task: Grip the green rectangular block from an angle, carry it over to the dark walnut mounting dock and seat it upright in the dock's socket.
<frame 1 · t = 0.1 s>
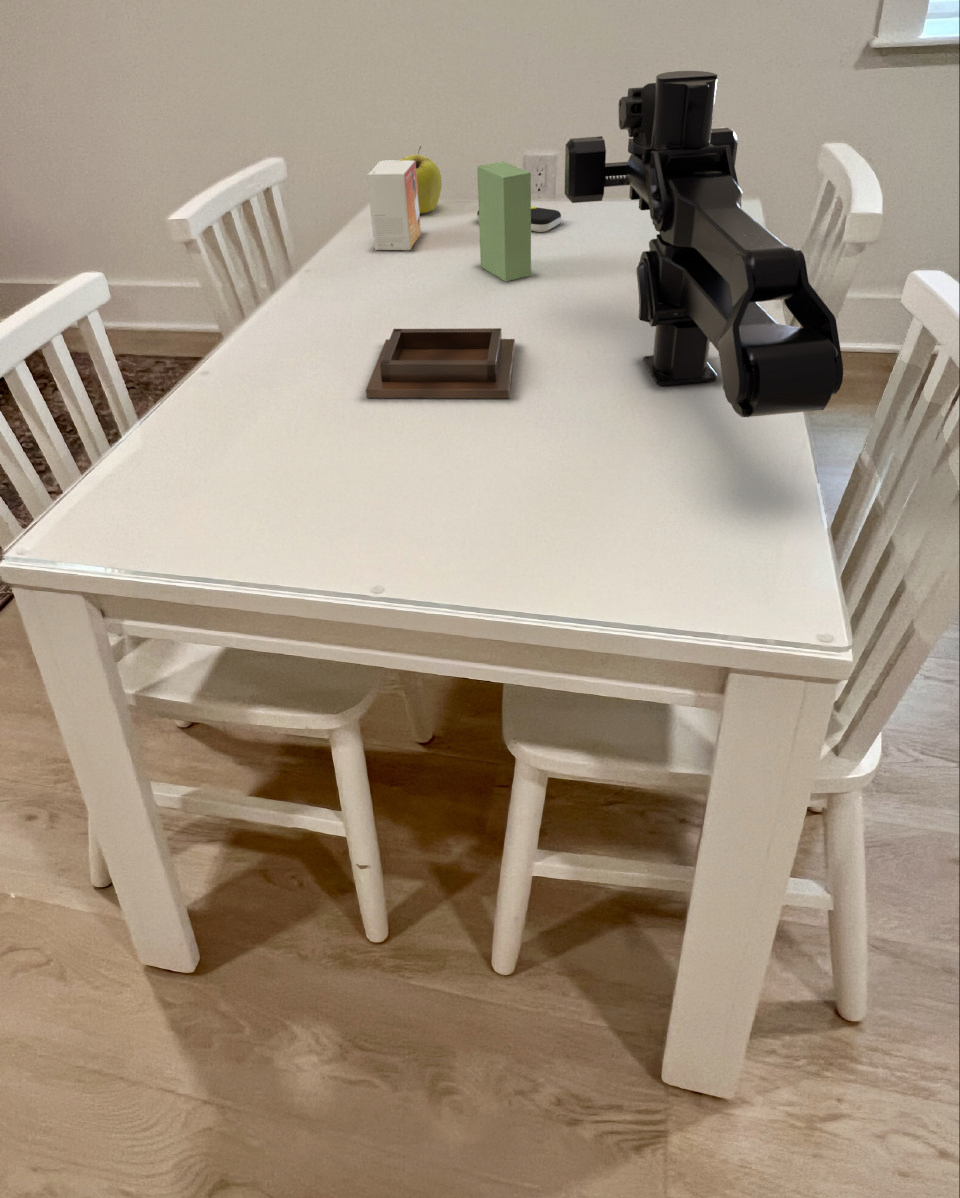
hand: (631, 148, 105), 17 cm above the table, tool horizontal, fingers open, 9 cm apart
mount dock: (444, 371, 98), on the table
remote control: (518, 224, 138), on the table
small box: (398, 243, 133), on the table
bottle: (697, 250, 126), on the table
green rectangular block: (505, 271, 122), on the table
apple: (419, 212, 145), on the table
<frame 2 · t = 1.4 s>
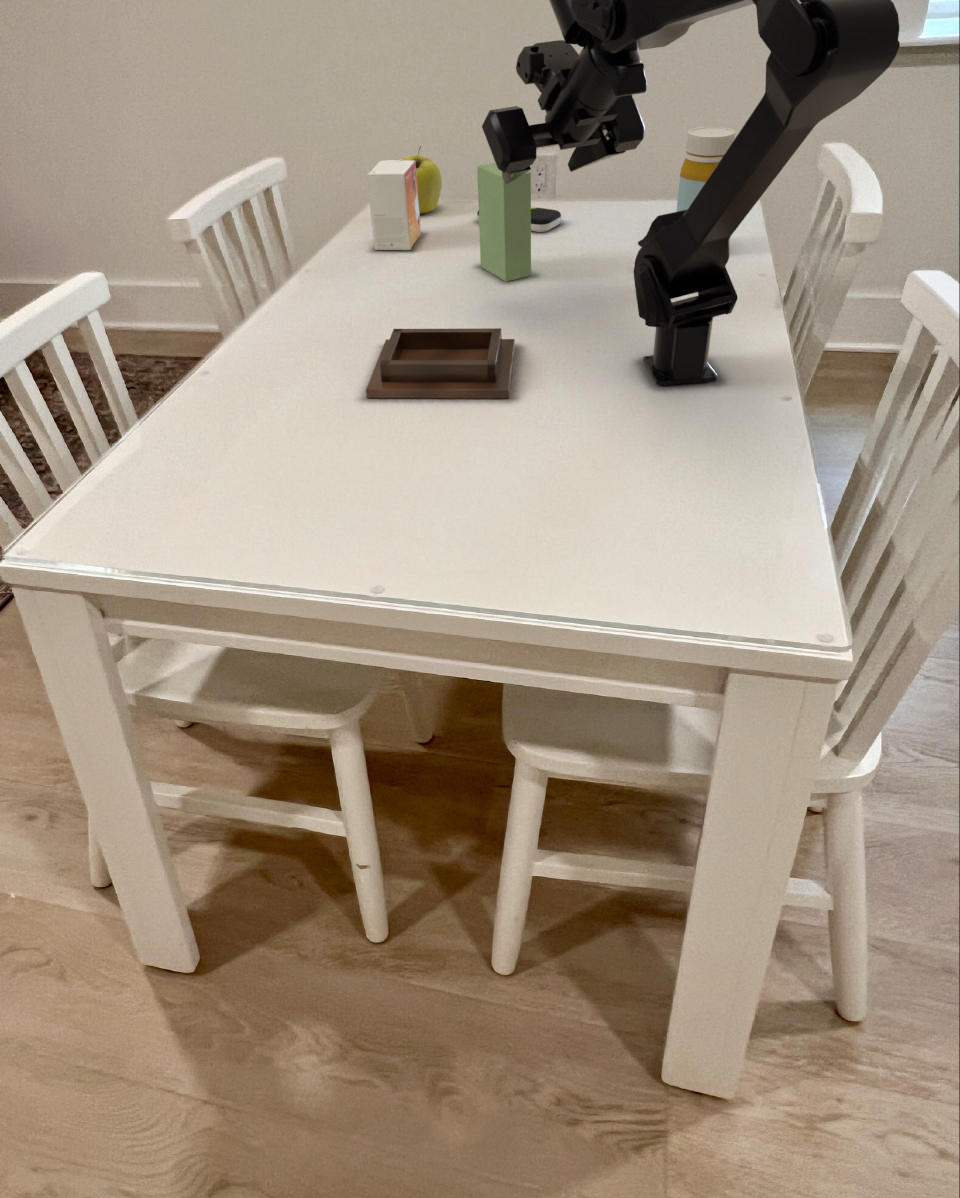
hand: (538, 173, 107), 14 cm above the table, tool tilted 45°, fingers open, 9 cm apart
nothing on the table moved.
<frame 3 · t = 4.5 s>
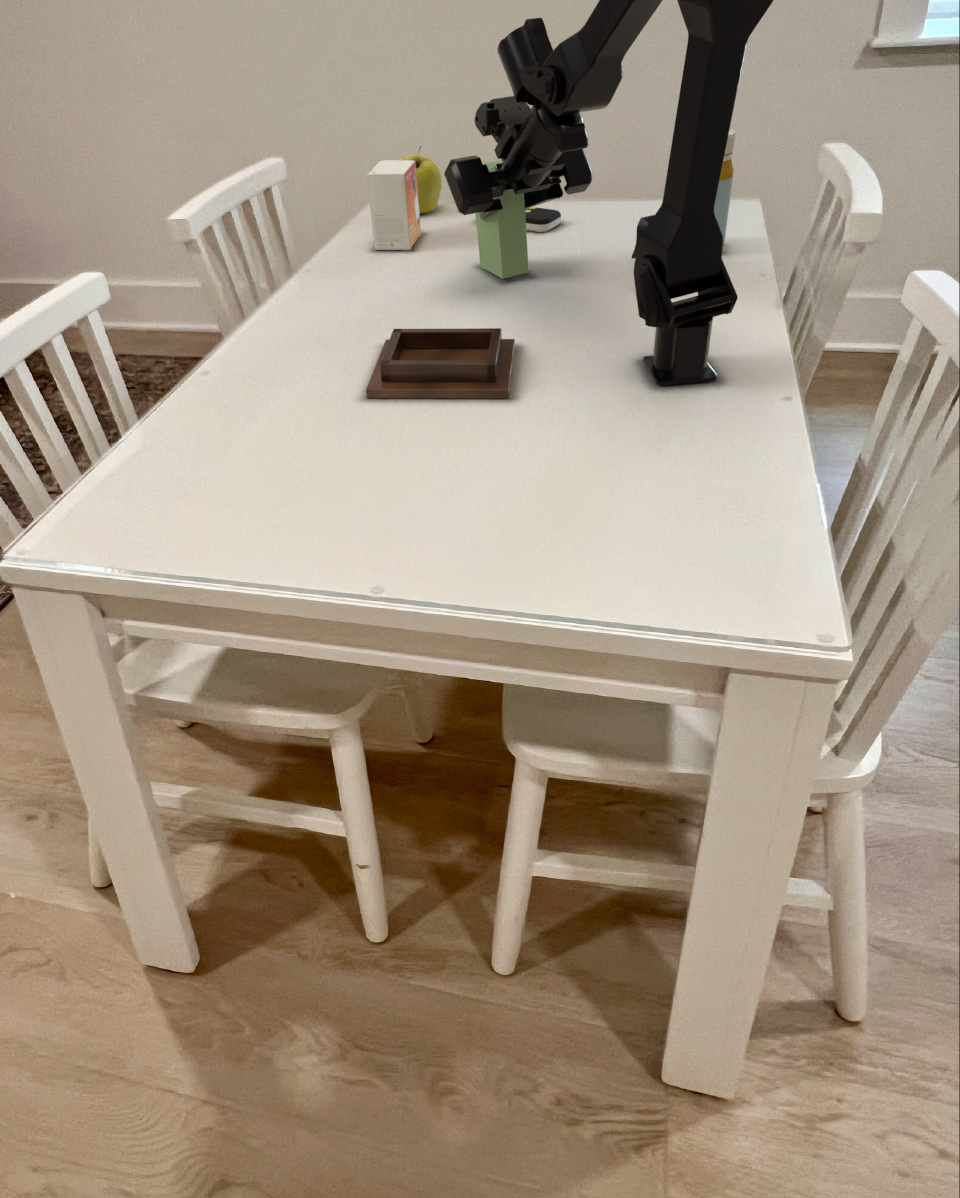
hand: (497, 212, 118), 7 cm above the table, tool tilted 45°, fingers closed on green rectangular block, 5 cm apart
green rectangular block: (504, 269, 122), on the table, touching gripper
everything else where it was.
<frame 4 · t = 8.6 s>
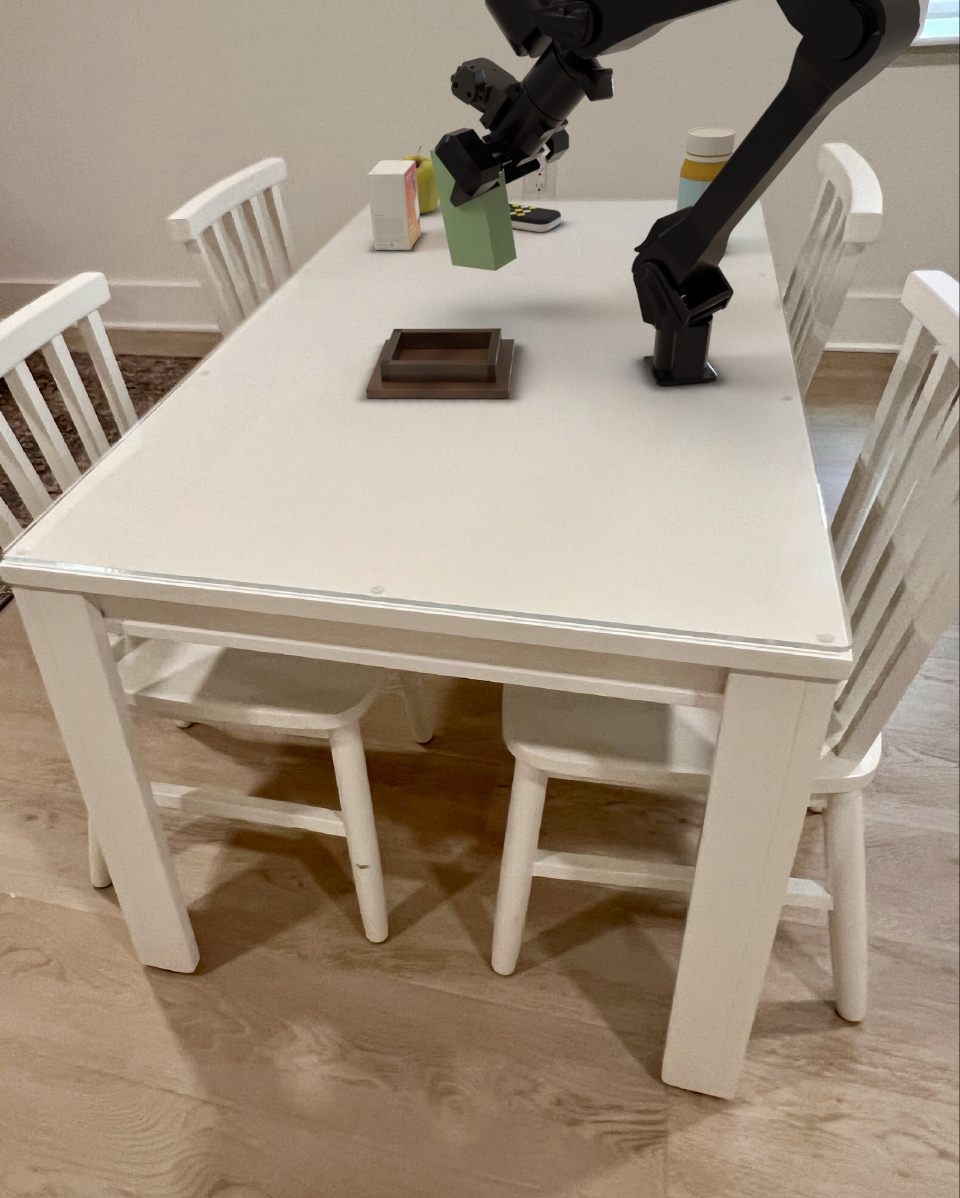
hand: (464, 198, 103), 13 cm above the table, tool tilted 45°, fingers closed on green rectangular block, 4 cm apart
green rectangular block: (484, 261, 106), point 6 cm above the table, tilted 8°, touching gripper
everything else where it was.
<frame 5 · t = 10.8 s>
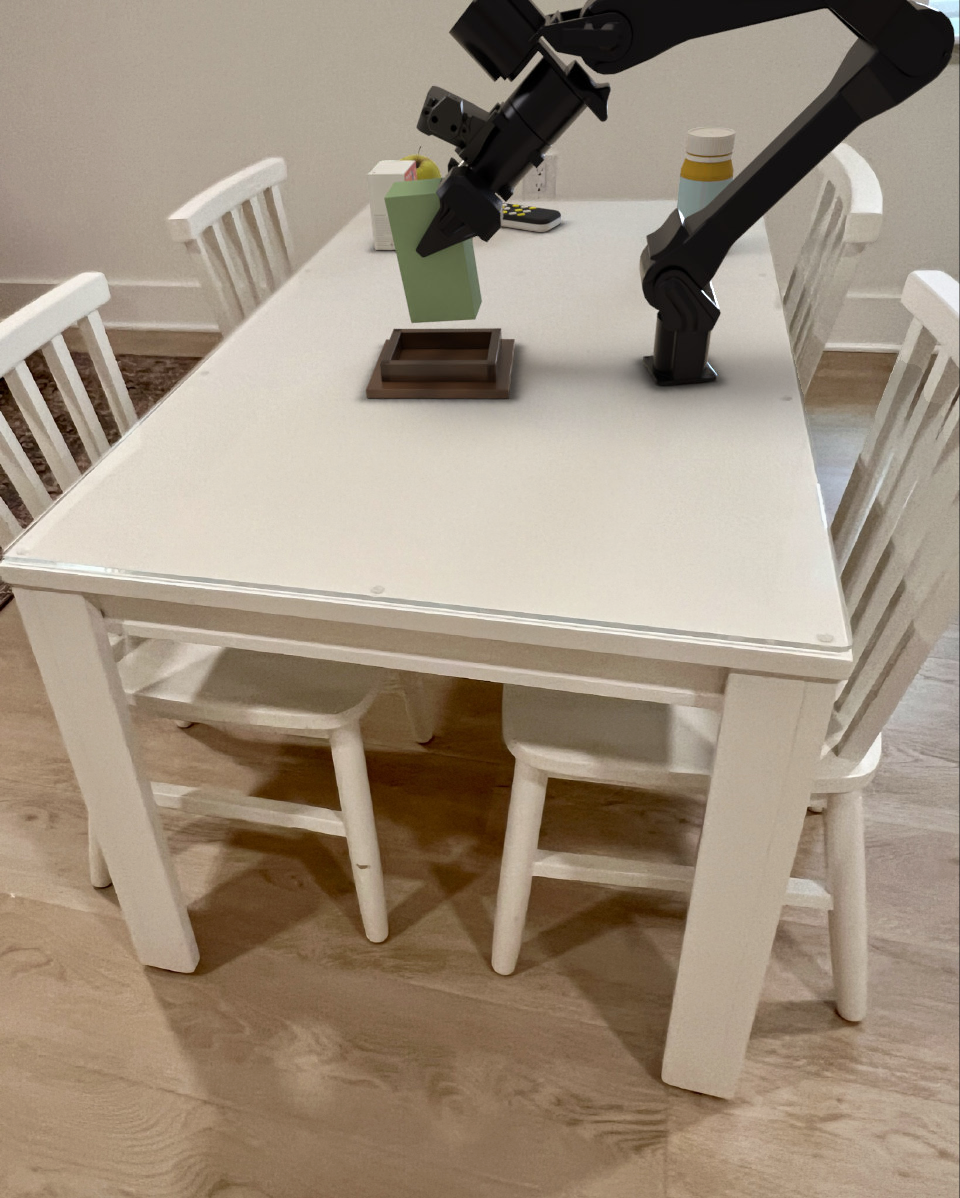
hand: (422, 246, 90), 13 cm above the table, tool tilted 45°, fingers closed on green rectangular block, 4 cm apart
green rectangular block: (446, 312, 94), point 6 cm above the table, tilted 8°, touching gripper
everything else where it was.
when the fingers open (9 cm above the table, at t = 12.8 s): green rectangular block stays where it is, resting on mount dock.
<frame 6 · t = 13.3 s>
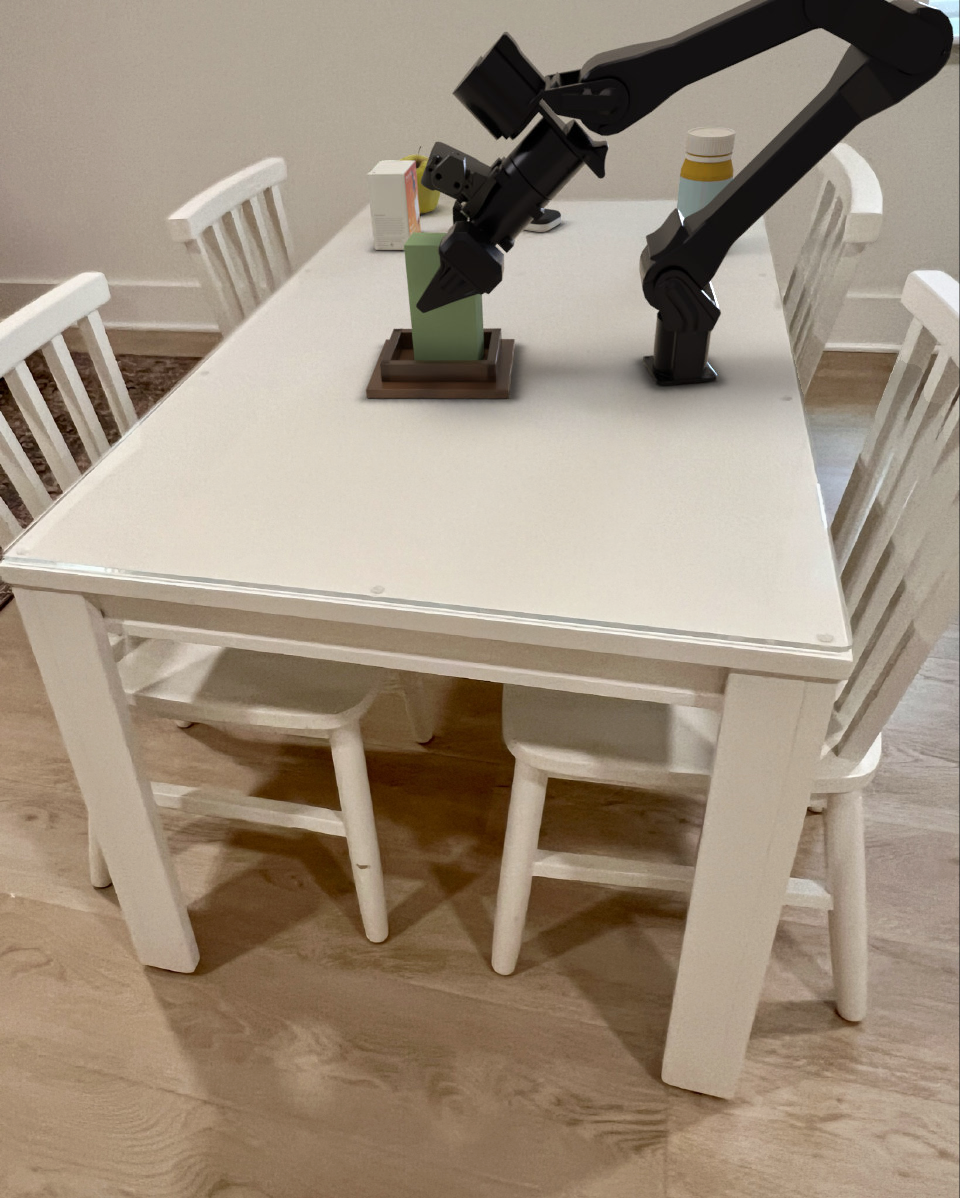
hand: (425, 292, 92), 9 cm above the table, tool tilted 45°, fingers open, 9 cm apart
green rectangular block: (450, 360, 98), point 1 cm above the table, touching mount dock
everything else where it was.
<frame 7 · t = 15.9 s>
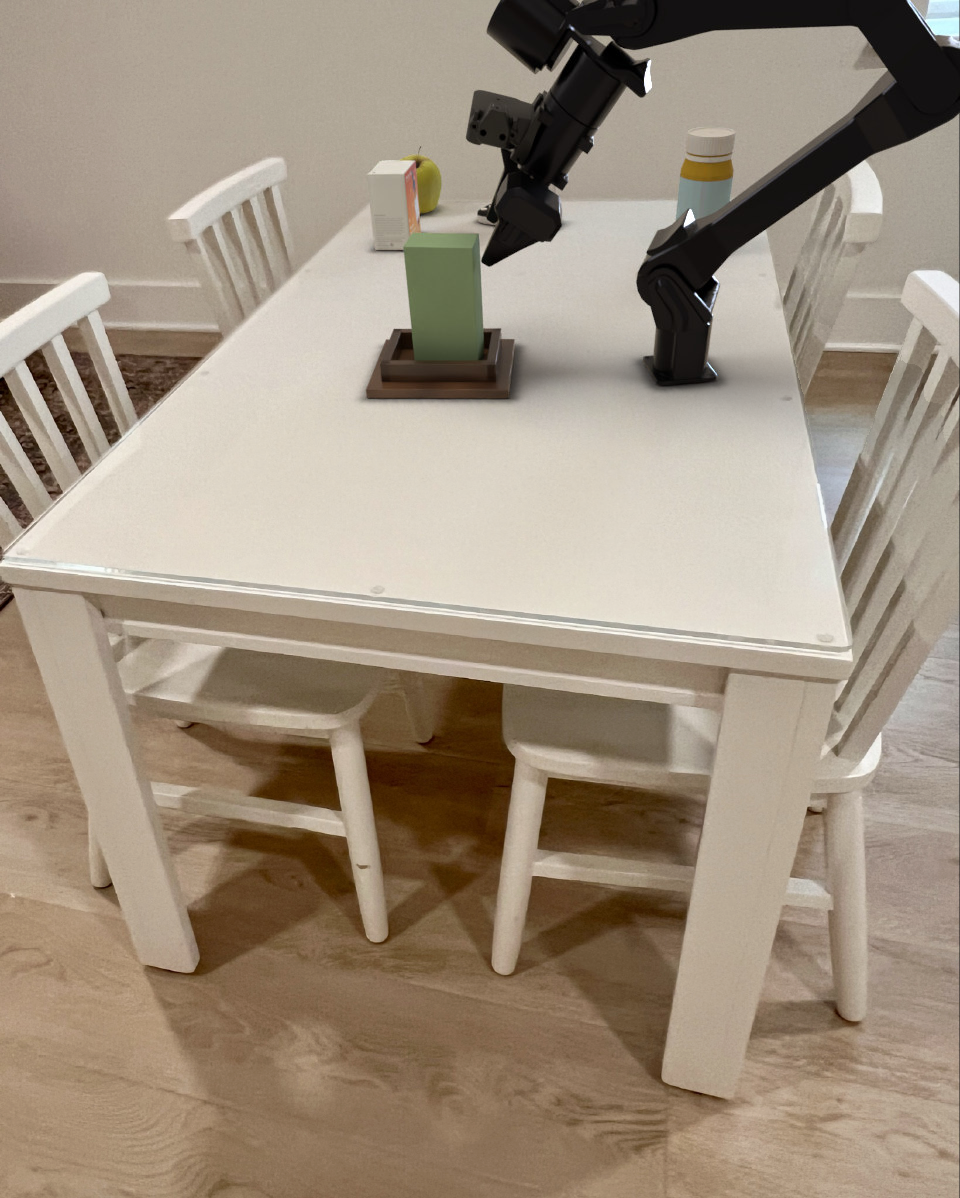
hand: (487, 241, 93), 12 cm above the table, tool tilted 35°, fingers open, 9 cm apart
nothing on the table moved.
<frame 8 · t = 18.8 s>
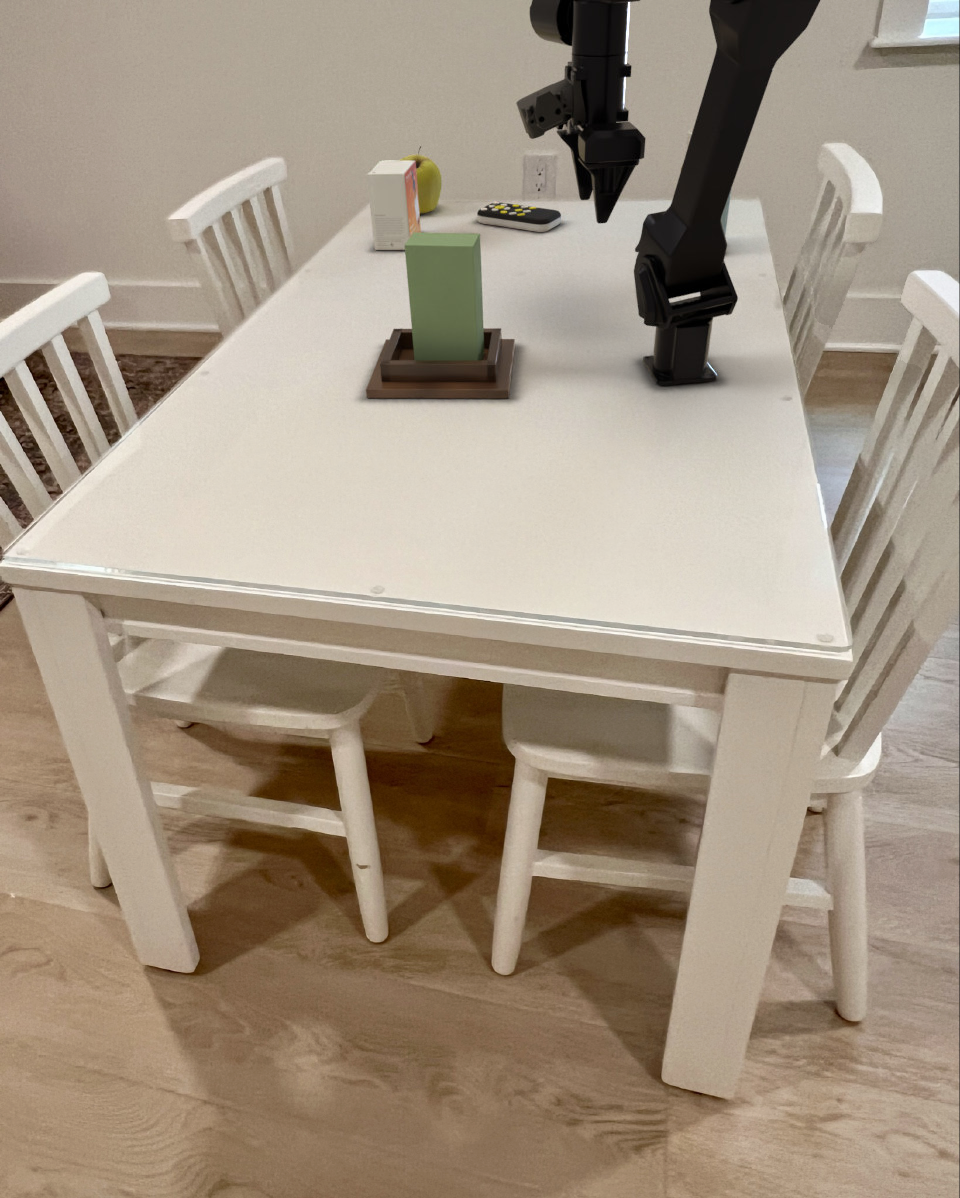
hand: (592, 210, 102), 12 cm above the table, tool pointing down, fingers open, 9 cm apart
nothing on the table moved.
at the end: green rectangular block 0.9 cm off-centre on the mount dock, point 1.0 cm above the mount dock's base; green rectangular block tilted 0°; the gripper is holding nothing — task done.
